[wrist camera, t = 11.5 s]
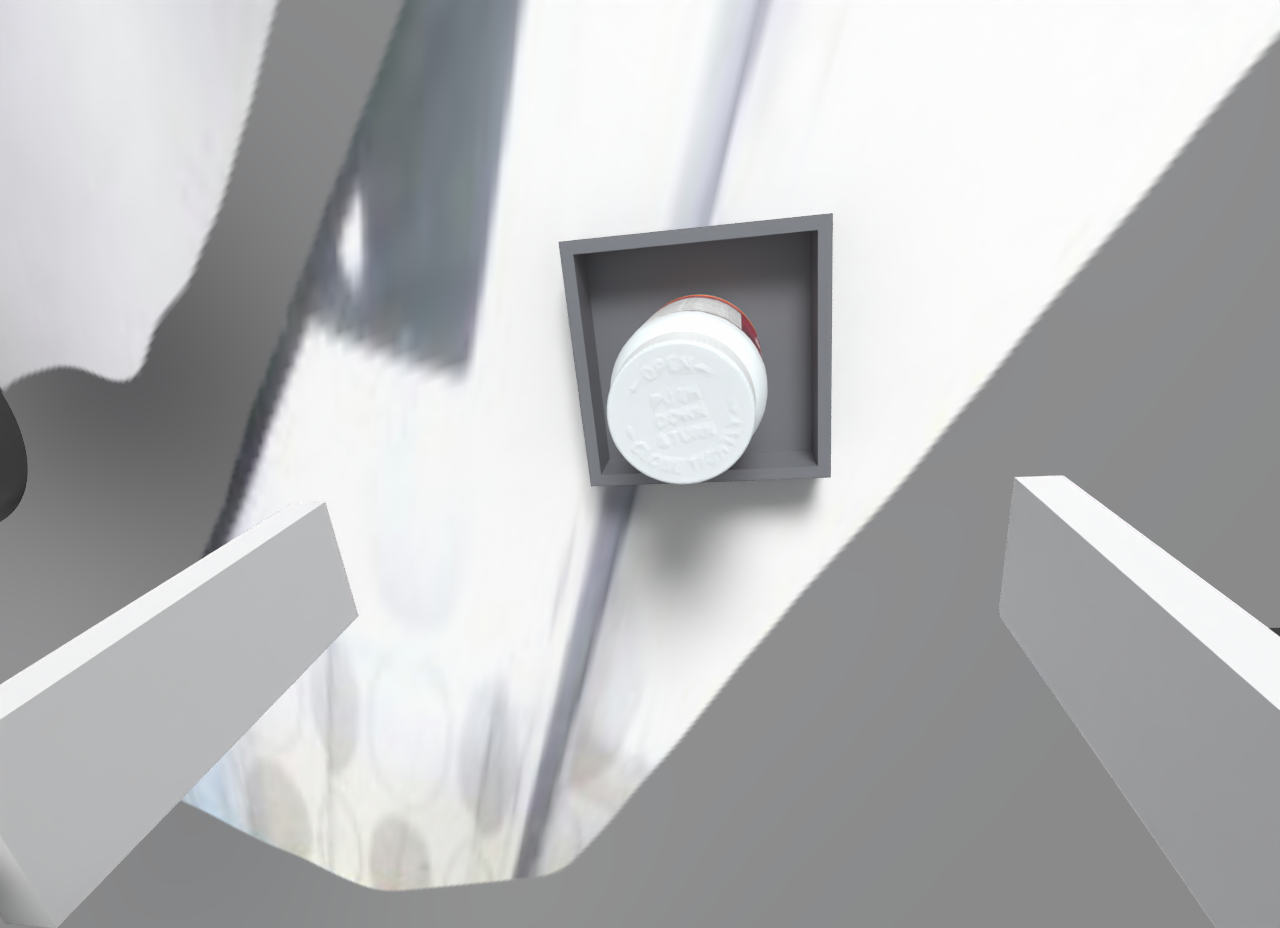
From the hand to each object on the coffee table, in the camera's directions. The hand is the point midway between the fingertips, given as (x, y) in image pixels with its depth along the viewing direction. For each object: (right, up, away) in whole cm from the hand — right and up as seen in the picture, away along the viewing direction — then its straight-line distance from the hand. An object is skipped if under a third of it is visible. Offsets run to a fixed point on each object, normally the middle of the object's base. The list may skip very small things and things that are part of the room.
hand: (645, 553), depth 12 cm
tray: (+3, +8, +20) cm, 22 cm away
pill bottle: (+3, +7, +20) cm, 21 cm away
